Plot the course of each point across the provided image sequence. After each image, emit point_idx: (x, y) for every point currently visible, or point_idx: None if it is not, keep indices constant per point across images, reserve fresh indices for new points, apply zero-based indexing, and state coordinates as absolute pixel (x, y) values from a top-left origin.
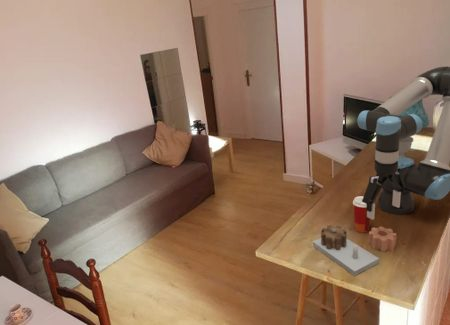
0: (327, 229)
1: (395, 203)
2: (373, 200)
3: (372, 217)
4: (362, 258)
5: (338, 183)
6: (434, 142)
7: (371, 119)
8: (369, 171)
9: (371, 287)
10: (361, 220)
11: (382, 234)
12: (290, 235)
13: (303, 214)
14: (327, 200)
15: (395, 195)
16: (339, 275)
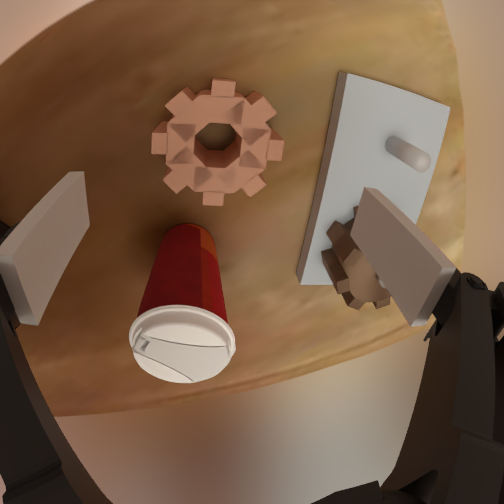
0: (379, 295)
1: (77, 211)
2: (477, 299)
3: (385, 199)
4: (385, 120)
5: (75, 406)
6: None
7: None
8: None
9: (446, 44)
10: (214, 268)
11: (198, 152)
12: (372, 332)
13: (264, 378)
14: (153, 388)
15: (46, 264)
16: (456, 139)
